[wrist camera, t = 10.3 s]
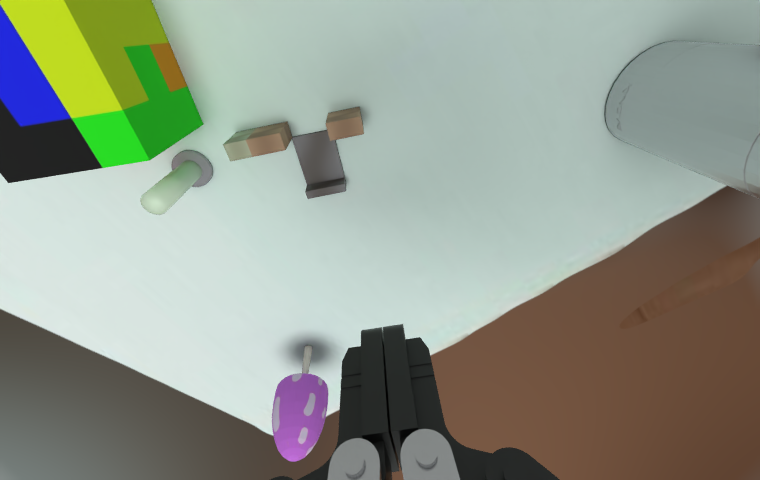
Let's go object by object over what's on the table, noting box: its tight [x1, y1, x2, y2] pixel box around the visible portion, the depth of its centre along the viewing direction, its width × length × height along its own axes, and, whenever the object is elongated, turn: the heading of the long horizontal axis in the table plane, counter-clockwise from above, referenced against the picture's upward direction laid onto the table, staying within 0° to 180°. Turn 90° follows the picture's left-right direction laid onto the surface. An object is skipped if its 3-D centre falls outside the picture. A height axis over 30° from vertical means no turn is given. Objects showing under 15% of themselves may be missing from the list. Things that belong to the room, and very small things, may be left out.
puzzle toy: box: [0, 0, 203, 183], centre depth 24 cm, size 10×10×10 cm
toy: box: [272, 346, 328, 461], centre depth 43 cm, size 7×7×15 cm
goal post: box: [140, 150, 213, 215], centre depth 30 cm, size 4×4×8 cm
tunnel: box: [223, 107, 364, 199], centre depth 28 cm, size 12×22×4 cm, turn 10°
